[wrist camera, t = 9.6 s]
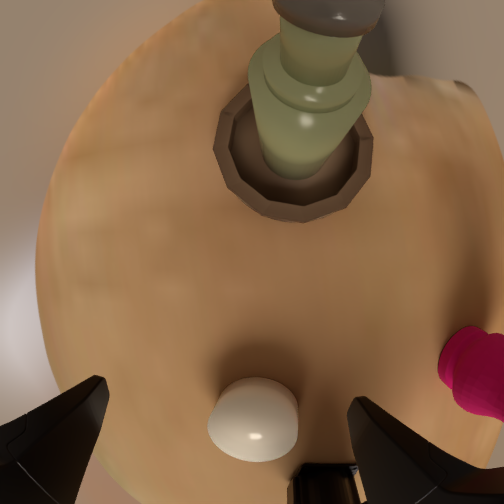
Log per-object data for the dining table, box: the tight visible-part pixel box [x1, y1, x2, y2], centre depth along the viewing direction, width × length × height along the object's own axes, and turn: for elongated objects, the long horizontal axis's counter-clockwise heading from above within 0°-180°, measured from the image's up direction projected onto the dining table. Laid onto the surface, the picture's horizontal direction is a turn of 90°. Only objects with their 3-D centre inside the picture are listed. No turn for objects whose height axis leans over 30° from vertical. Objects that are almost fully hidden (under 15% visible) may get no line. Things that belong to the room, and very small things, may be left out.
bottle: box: [248, 0, 385, 180], centre depth 11 cm, size 5×5×15 cm
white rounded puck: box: [208, 377, 298, 462], centre depth 19 cm, size 7×7×4 cm
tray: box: [213, 84, 373, 223], centre depth 18 cm, size 11×11×2 cm
